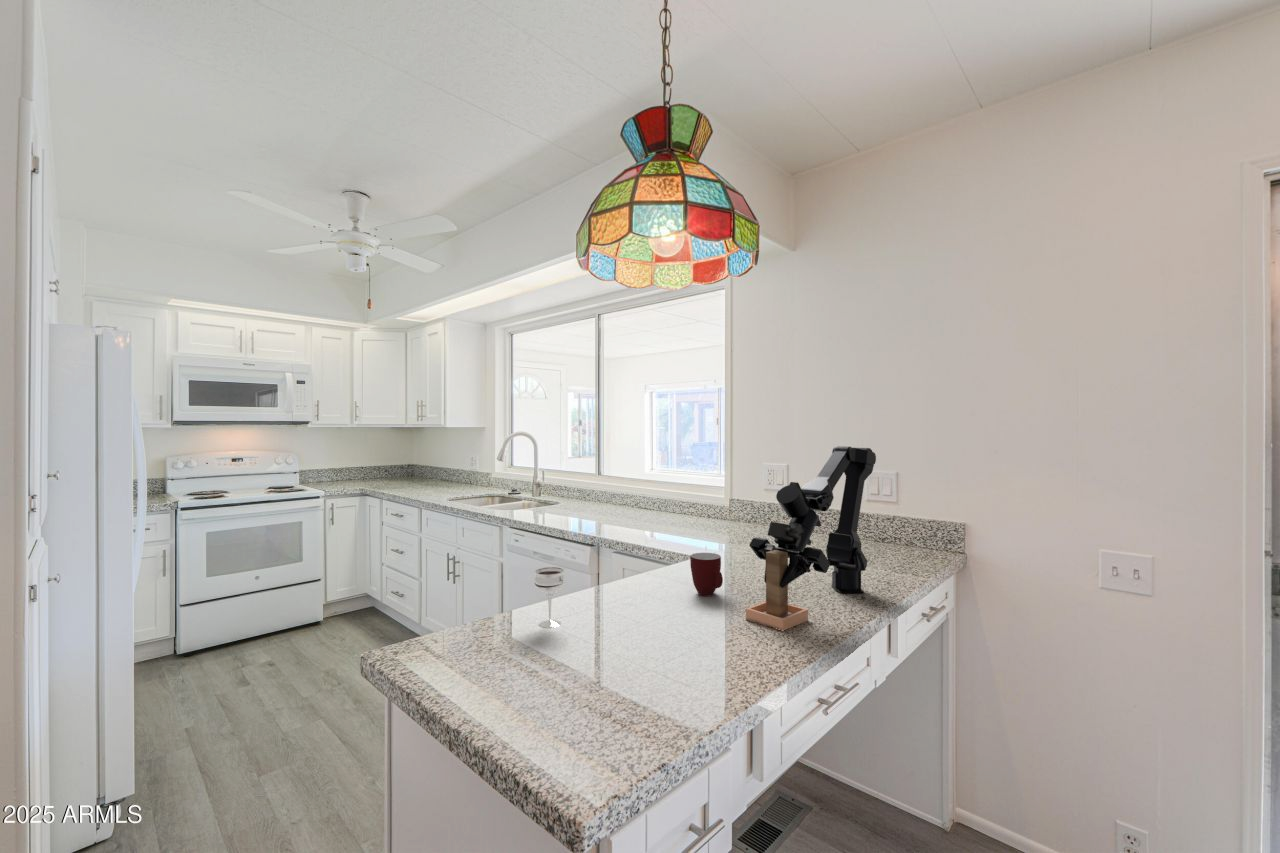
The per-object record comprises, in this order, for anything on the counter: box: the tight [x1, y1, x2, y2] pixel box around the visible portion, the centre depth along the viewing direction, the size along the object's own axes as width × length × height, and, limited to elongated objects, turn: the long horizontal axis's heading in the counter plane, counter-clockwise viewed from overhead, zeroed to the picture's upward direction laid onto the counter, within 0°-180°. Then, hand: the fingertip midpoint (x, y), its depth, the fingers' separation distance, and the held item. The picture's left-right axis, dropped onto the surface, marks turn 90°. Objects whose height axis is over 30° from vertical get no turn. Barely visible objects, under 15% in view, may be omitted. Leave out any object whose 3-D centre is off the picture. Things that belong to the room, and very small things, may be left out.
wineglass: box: [534, 566, 565, 629], centre depth 124 cm, size 7×7×12 cm
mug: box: [689, 552, 724, 597], centre depth 144 cm, size 11×8×10 cm
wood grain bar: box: [763, 550, 792, 618], centre depth 125 cm, size 5×5×14 cm
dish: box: [745, 600, 809, 631], centre depth 125 cm, size 10×10×2 cm
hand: (773, 584), depth 124 cm, fingers open, 4 cm apart
